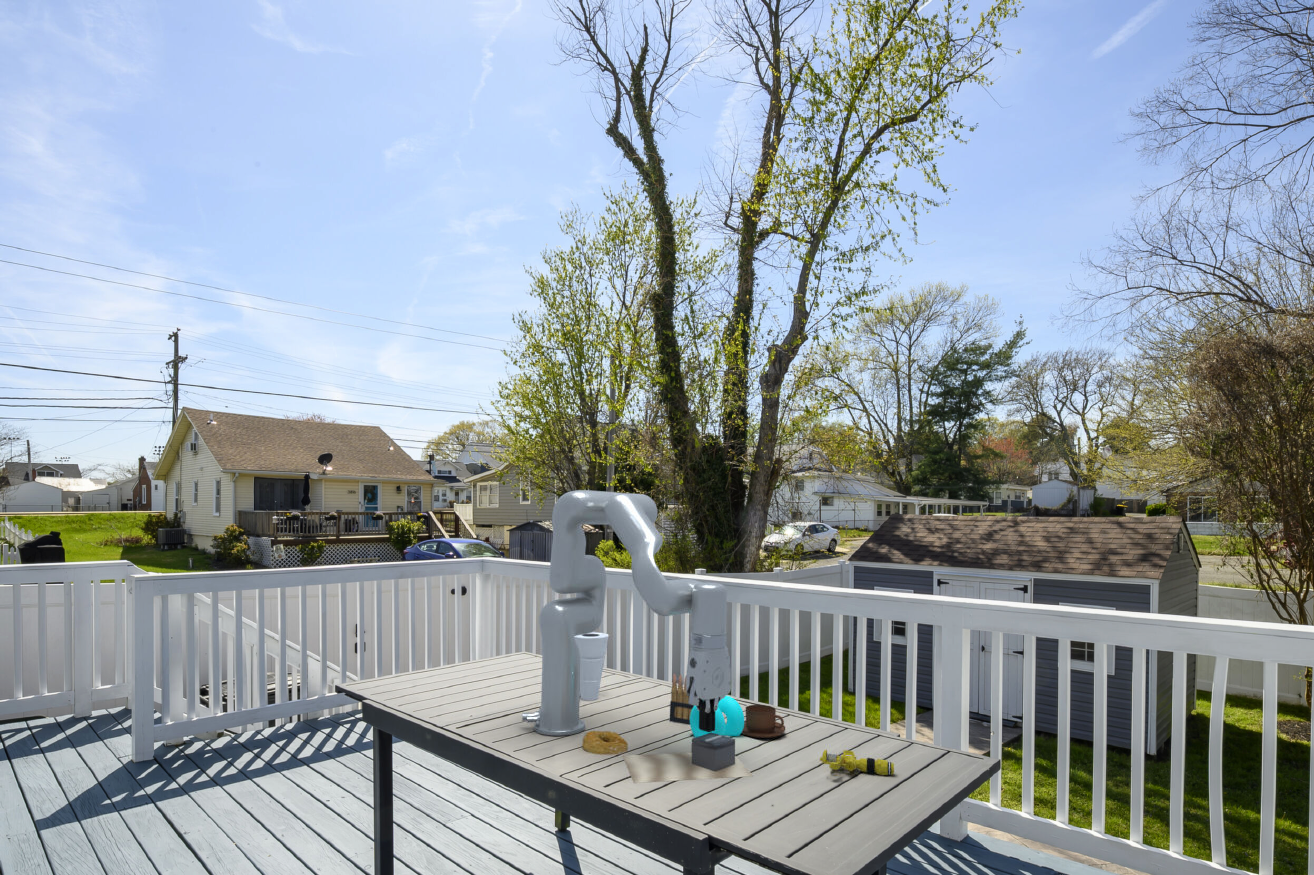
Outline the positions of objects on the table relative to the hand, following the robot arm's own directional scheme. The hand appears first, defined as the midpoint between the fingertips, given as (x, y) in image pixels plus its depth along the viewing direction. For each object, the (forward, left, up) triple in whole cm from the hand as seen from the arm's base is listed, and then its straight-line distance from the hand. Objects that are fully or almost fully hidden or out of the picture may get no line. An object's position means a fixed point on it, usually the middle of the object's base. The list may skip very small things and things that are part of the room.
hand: (706, 729), depth 150 cm
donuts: (+7, +17, -8) cm, 20 cm away
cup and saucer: (+19, +22, -8) cm, 30 cm away
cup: (-19, +62, -8) cm, 65 cm away
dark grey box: (+1, -2, -6) cm, 7 cm away
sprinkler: (+31, -5, -8) cm, 33 cm away
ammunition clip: (+4, +33, -8) cm, 34 cm away
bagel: (-20, +12, -8) cm, 25 cm away
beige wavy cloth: (-5, -2, -8) cm, 10 cm away
